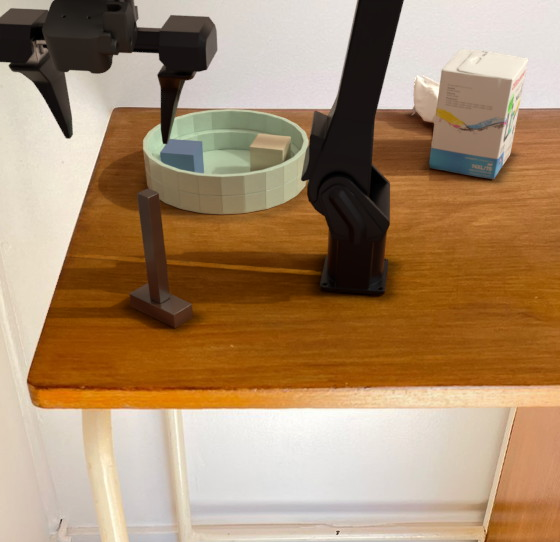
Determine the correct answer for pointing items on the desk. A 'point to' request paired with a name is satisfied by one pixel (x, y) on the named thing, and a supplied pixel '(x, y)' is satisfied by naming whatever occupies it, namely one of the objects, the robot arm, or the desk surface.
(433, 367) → the desk surface
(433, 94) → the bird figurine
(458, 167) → the ink box
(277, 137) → the cream block
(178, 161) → the slate block
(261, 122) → the bowl
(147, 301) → the block-headed hammer
